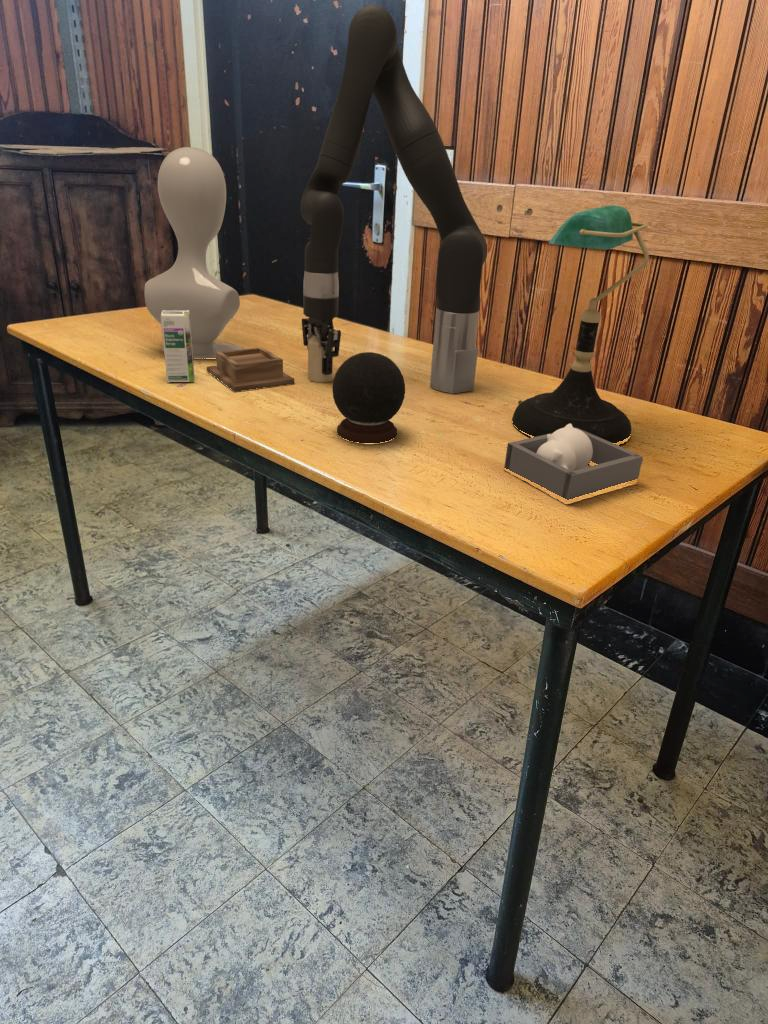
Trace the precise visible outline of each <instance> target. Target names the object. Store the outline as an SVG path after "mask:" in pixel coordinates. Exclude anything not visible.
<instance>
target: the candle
mask: <svg viewBox="0 0 768 1024" xmlns="http://www.w3.org/2000/svg"><path fill="white" fill-rule="evenodd" d="M322 342H323V343H327V341H322ZM325 350H327V347H325ZM322 358H323V357H322V352H321V348H319V345H318V342H317V337H316V336H315V335H313V336H312V337H311V338H310V339H309V340H308V349H307V379H308V380H309V381H311V382H314V383H328V382H331V381H333V379H334V376H333V375H334V373H333V369H334V366H333V365H334V358H333V359H332V374H329V375H324V374H322Z"/></svg>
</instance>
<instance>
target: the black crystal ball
mask: <svg viewBox="0 0 768 1024" xmlns="http://www.w3.org/2000/svg"><path fill="white" fill-rule="evenodd" d="M331 390H332V397H333V401H334V404H335V405H336V406H335V407H336V408H337V409H338V411H339V412H340V413H341V415H342V416H343V417H344V419H342V420H341V421H340V423H339V424H338V425H337V427H336V434H337V433H338V434H337V436H338V435H339V436H341V437H342V438H344V439H347V440H349V441H353V442H359V443H380V442H385V441H389V440H391V439H393V438H395V437H396V436H398V429H397V427H396V426H395V424H394V423H393V422H392V421H391V420H392V418H393V417H394V416H395V415H396V414H397V413H399V411H400V409H401V408H402V405H403V403H404V400H405V396H406V395H405V394H406V383H405V379H404V375H403V373H402V371H401V370H400V368H399V367H398V365H397V363H395V362H394V361H393V360H392V359H391V358H389V357H388V356H386V355H383V354H381V353H376V352H372V351H371V352H370V351H369V352H367V351H366V352H365V351H364V352H359V353H357V354H355V355H351V356H350V357H348V358H347V359H345V360H344V361H343V363H341V365H340V366H339V367H338V368H337V371H336V373H335V374H334V376H333V379H332V388H331ZM339 436H338V437H339ZM342 438H341V439H342ZM396 438H397V437H396ZM396 438H395V439H396Z"/></svg>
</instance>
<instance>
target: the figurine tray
mask: <svg viewBox="0 0 768 1024" xmlns="http://www.w3.org/2000/svg"><path fill="white" fill-rule="evenodd" d="M576 429H579V428H576ZM579 430H581V429H579ZM581 431H583V432H584V433H585V434H586V435H587V436H588V437H589V439H590V441H591V443H592V447H593V454H592V458H591V461H592V462H594V463H596V464H598V465H594V466H587V467H586V468H582V469H579V470H575V471H570V470H568V469H566V468H564V467H562V466H560V465H558V464H556V463H554V462H552V461H550V460H548V459H546V458H544V457H542V456H540V455H538V454H536V453H537V450H538V449H539V447H540V446H541V445H542V444H544V443H546V442H547V440H548V439H547V435H548V434H546V435H542V436H537V437H533V438H531V437H529V438H524V439H519V440H516V441H511V442H507V445H506V452H505V454H506V455H505V460H504V467H503V469H504V468H506V469H509V470H510V471H512V472H514V473H516V474H518V475H520V476H522V477H524V478H526V479H528V480H530V481H531V482H534V483H536V484H538V485H540V486H541V487H544V488H546V489H547V490H549V491H551V492H553V493H555V494H557V495H559V496H561V497H563V498H565V499H567V500H569V499H573V498H575V497H579V496H582V495H585V494H589V493H593V492H596V491H598V490H602V489H605V488H608V487H611V486H615V485H618V484H621V483H625V482H628V481H632V480H635V479H638V480H639V476H640V473H641V467H642V463H643V460H644V459H643V458H644V456H643V455H640V454H638V453H636V452H635V451H632V450H630V449H627V448H625V447H623V446H621V445H620V446H618V445H616V444H613V443H611V442H609V441H606V440H604V439H602V438H600V437H597V436H595V435H593V434H590V433H588V432H586V431H584V430H581ZM551 434H552V433H551ZM551 434H550V435H551Z"/></svg>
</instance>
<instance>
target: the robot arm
mask: <svg viewBox="0 0 768 1024" xmlns="http://www.w3.org/2000/svg"><path fill="white" fill-rule="evenodd" d="M348 27H349V28H348V32H347V35H348V36H347V46H346V54H345V60H344V67H343V71H342V77H341V81H340V84H339V89H338V92H337V96H336V99H335V104H334V107H333V109H332V112H331V115H330V119H329V122H328V125H327V128H326V131H325V135H324V137H323V141H322V145H321V148H320V151H319V156H318V159H317V163H316V166H315V168H314V170H313V171H312V173H311V176H310V178H309V179H308V182H307V184H306V186H305V188H304V191H303V193H302V197H301V201H300V213H301V216H302V219H303V220H304V222H306V223H307V225H309V226H310V240H309V241H308V242H307V243H306V245H305V246H304V275H303V287H302V288H303V290H302V291H303V294H302V295H303V297H302V298H303V309H302V310H303V311H302V312H303V315H304V316H305V318H302V319H301V330H302V340H303V343H302V344H303V346H304V347H305V346H306V349H307V350H308V340H309V339H310V338H311V337H312V336H313V335H315V336H316V337H317V342H318V345H319V348H321V352H322V357H323V358H322V374H324V375H329V374H332V359H333V360H334V358H337V357H339V353H340V346H341V345H340V344H341V337H342V332H341V330H340V329H338V330H337V329H335V328H334V327H335V326H334V321H333V320H334V319H335V318H336V317H338V315H339V295H340V294H339V292H340V290H339V289H340V285H339V283H340V282H339V281H340V280H339V248H340V245H341V244H340V243H341V240H342V236H343V235H342V234H343V229H344V224H345V223H344V222H345V210H344V205H343V203H342V201H341V199H340V198H339V196H338V193H339V192H340V189H341V187H342V185H344V184H345V183H347V182H348V181H349V179H350V177H351V176H352V172H353V168H354V166H355V162H356V158H357V156H358V152H359V149H360V145H361V142H362V138H363V134H364V129H365V125H366V120H367V115H368V110H369V106H370V103H371V99H372V96H374V98H375V100H376V102H377V105H378V107H379V110H380V113H381V116H382V119H383V122H384V125H385V128H386V131H387V135H388V138H389V139H390V142H391V145H392V148H393V150H394V153H395V155H396V158H397V159H398V162H399V163H400V164H399V165H400V167H401V169H402V171H403V173H404V176H405V177H406V179H407V181H408V183H409V184H410V186H411V187H412V189H413V190H414V192H415V194H416V195H417V196H418V198H419V199H420V200H421V202H422V203H423V204H424V206H425V207H426V208H427V210H428V211H429V213H430V215H431V217H432V219H433V221H434V223H435V225H436V228H437V231H438V234H439V237H440V240H441V243H440V245H439V250H438V255H437V256H438V257H437V267H436V281H435V282H436V283H435V295H436V309H435V321H434V332H433V333H434V334H433V343H432V355H431V356H432V357H431V367H430V370H431V371H430V379H429V380H430V382H429V387H431V388H432V389H434V390H436V391H440V392H444V393H449V394H452V395H453V394H460V393H466V392H472V391H471V390H473V391H474V387H475V379H476V370H477V360H478V351H479V349H478V348H477V347H476V345H477V344H476V343H477V334H478V324H479V318H480V317H479V316H480V307H481V282H482V272H483V265H484V263H485V262H486V260H487V256H488V249H489V248H488V244H487V240H486V238H485V236H484V234H483V232H482V231H481V229H480V227H479V226H478V223H477V222H476V221H475V219H474V216H473V215H472V213H471V211H470V209H469V207H468V205H467V203H466V202H465V199H464V197H463V193H462V191H461V188H460V185H459V182H458V179H457V176H456V174H455V171H454V167H453V165H452V162H451V160H450V157H449V155H448V152H447V149H446V146H445V144H444V142H443V139H442V137H441V135H440V132H439V131H438V128H437V126H436V124H435V122H434V120H433V119H432V117H431V114H430V113H429V112H428V110H427V108H426V107H425V105H424V104H423V102H422V100H421V99H420V98H419V96H418V94H417V93H416V91H415V90H414V88H413V86H412V84H411V82H410V79H409V76H408V74H407V71H406V69H405V66H404V62H403V60H402V57H401V54H400V53H401V52H400V50H399V46H398V29H397V26H396V23H395V20H394V18H393V16H392V15H391V14H390V12H389V11H388V10H387V9H386V8H384V7H383V6H381V5H377V4H370V5H366V6H363V7H362V8H360V9H359V10H358V11H357V12H356V13H355V14H354V15H353V17H352V19H351V21H350V24H349V26H348ZM322 341H327V343H323V342H322ZM325 347H327V350H325Z"/></svg>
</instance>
